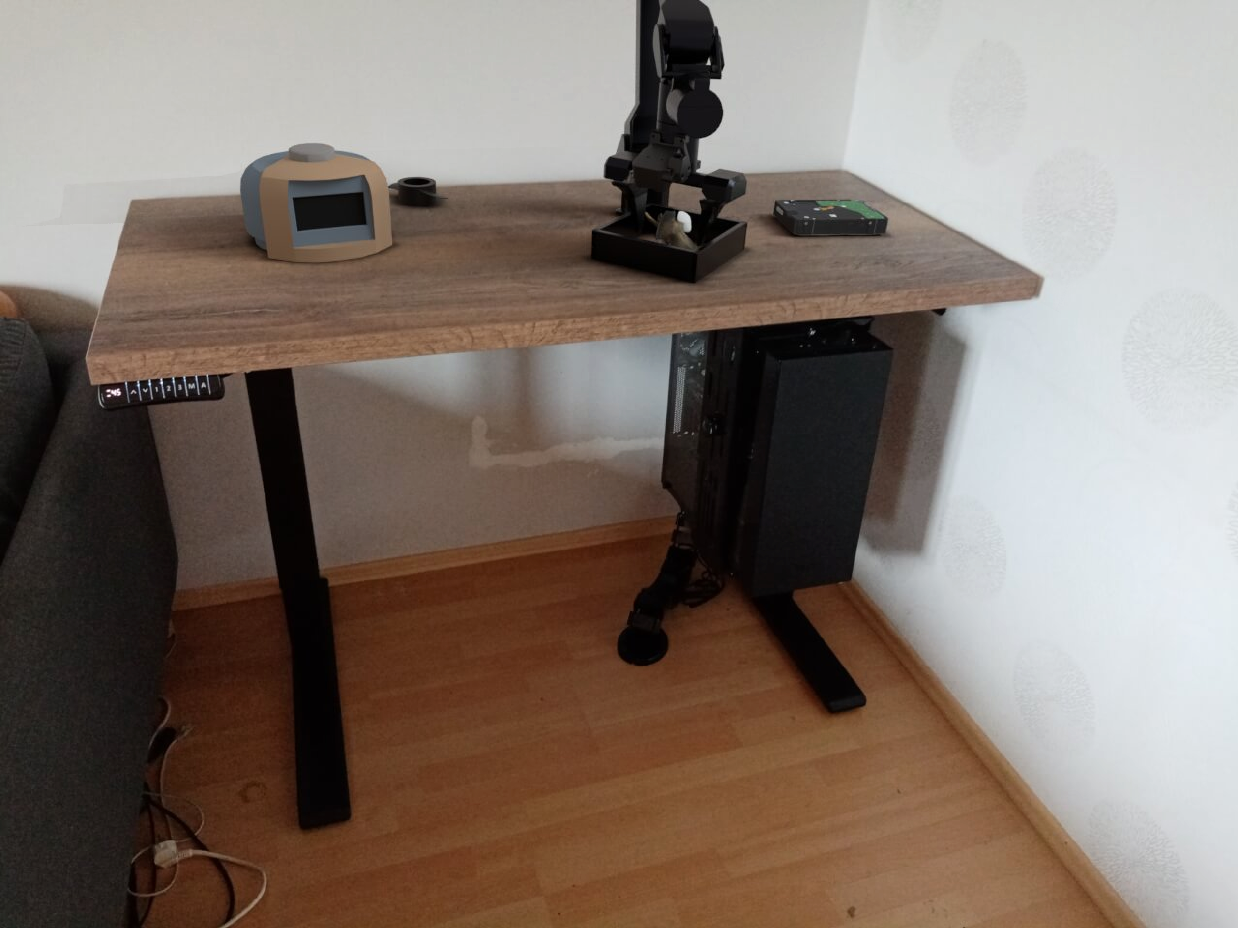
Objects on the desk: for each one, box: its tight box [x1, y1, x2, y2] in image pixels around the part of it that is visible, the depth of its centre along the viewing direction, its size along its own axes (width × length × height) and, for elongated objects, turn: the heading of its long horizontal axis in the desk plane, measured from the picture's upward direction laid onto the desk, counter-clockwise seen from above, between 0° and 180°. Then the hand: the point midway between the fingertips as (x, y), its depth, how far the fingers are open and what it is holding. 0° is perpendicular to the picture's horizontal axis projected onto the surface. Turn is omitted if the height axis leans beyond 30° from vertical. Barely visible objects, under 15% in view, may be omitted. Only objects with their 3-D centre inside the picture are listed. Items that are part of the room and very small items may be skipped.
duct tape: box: [388, 176, 449, 207], centre depth 150 cm, size 8×10×3 cm
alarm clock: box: [239, 142, 393, 263], centre depth 131 cm, size 19×20×12 cm
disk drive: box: [772, 199, 889, 236], centre depth 150 cm, size 10×3×15 cm
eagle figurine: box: [645, 210, 696, 251], centre depth 134 cm, size 8×7×9 cm
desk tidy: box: [590, 202, 748, 284], centre depth 134 cm, size 16×17×4 cm
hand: (668, 239), depth 134 cm, fingers open, 9 cm apart
